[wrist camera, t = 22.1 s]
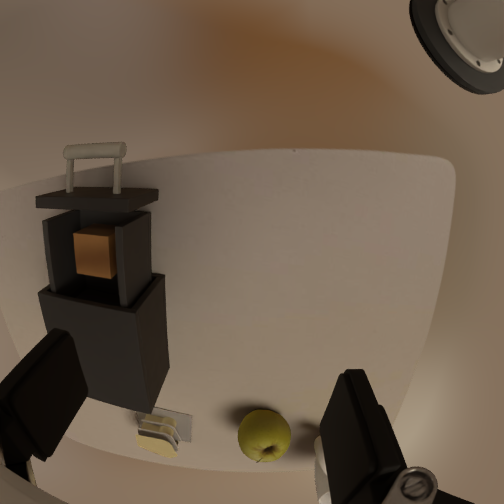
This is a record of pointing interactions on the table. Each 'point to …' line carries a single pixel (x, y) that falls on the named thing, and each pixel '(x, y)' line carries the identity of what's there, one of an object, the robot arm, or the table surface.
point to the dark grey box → (116, 344)
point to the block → (96, 251)
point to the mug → (321, 474)
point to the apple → (264, 435)
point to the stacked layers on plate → (163, 431)
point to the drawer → (99, 212)
